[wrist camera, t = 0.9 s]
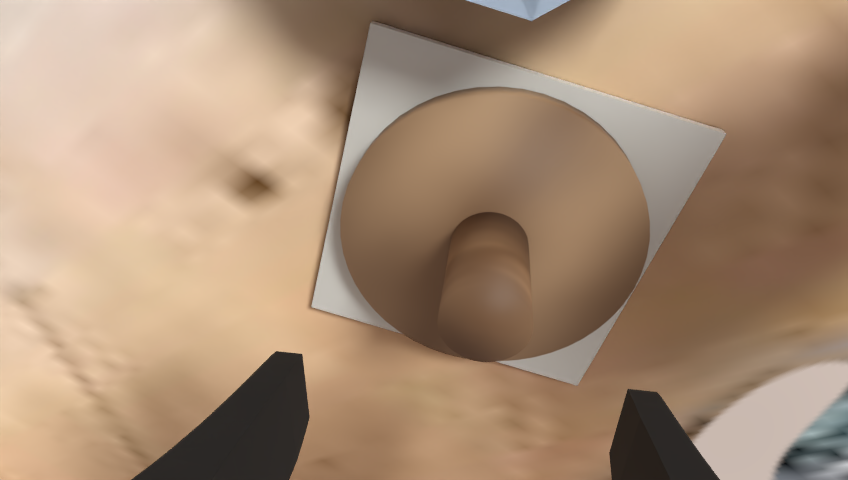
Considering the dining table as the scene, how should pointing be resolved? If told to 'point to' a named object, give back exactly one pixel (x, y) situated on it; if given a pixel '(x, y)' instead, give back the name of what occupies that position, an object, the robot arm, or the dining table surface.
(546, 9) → the bowl
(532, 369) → the mat
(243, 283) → the dining table surface
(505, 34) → the dining table surface
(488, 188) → the lid
